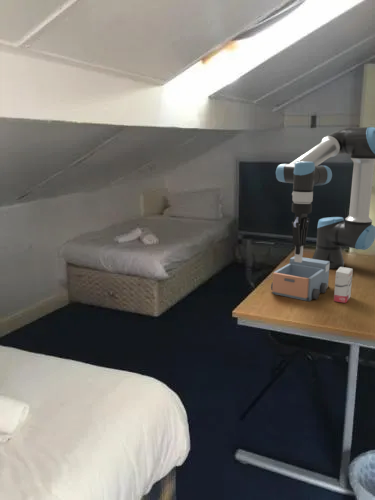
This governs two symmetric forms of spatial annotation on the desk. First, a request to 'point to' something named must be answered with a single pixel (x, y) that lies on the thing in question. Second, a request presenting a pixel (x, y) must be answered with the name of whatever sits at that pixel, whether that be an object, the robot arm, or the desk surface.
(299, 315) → the desk surface
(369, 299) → the desk surface
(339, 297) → the ink box
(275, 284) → the tailgate
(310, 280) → the pickup bed
